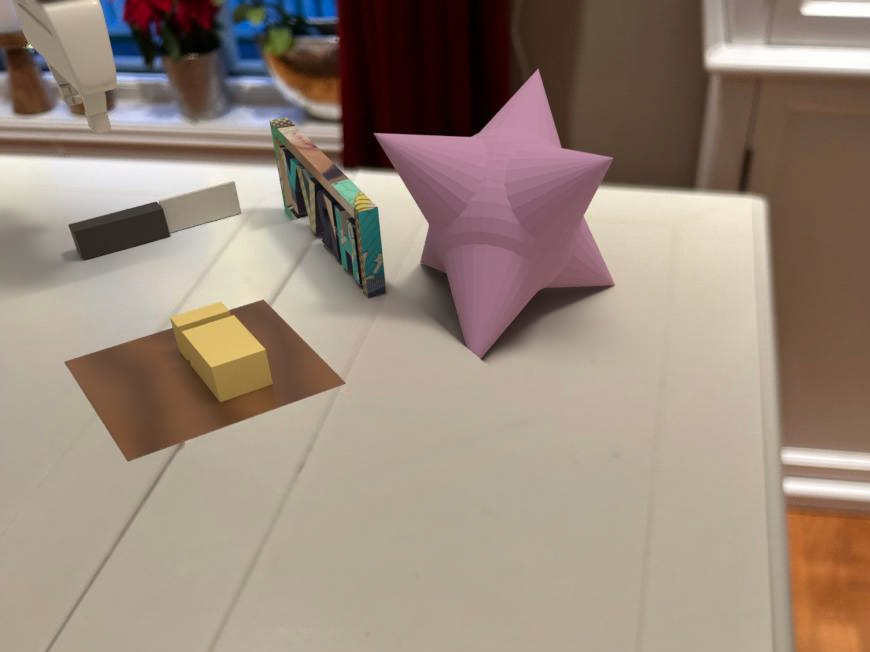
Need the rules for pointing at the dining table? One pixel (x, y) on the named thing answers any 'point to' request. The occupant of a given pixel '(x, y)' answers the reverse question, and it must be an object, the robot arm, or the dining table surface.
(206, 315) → the butter slice
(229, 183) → the knife
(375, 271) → the decorative block
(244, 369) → the butter block
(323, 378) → the cutting board
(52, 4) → the robot arm
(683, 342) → the dining table surface
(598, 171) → the decorative object
